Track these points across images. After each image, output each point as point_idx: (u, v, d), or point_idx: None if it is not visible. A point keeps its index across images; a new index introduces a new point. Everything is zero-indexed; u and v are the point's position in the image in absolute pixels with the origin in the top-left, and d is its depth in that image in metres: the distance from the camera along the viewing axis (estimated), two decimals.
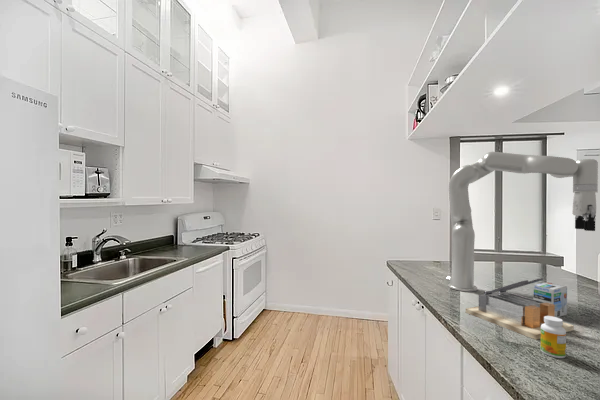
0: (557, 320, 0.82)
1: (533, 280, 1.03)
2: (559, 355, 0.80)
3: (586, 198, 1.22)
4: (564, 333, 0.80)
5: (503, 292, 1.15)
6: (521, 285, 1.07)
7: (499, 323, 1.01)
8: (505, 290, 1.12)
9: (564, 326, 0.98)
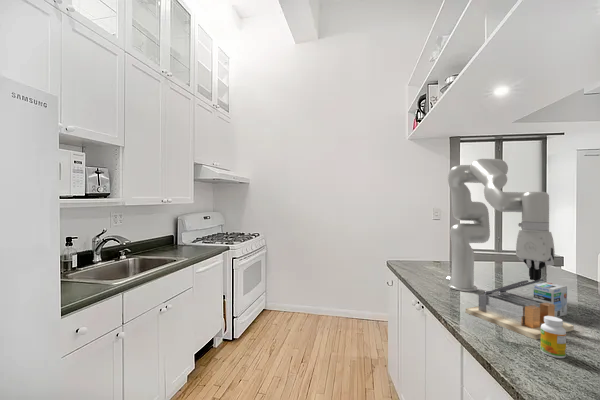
0: (557, 320, 0.82)
1: (533, 281, 1.03)
2: (559, 355, 0.80)
3: (548, 240, 1.00)
4: (564, 333, 0.80)
5: (503, 292, 1.15)
6: (521, 285, 1.07)
7: (499, 323, 1.01)
8: (505, 290, 1.12)
9: (564, 326, 0.98)
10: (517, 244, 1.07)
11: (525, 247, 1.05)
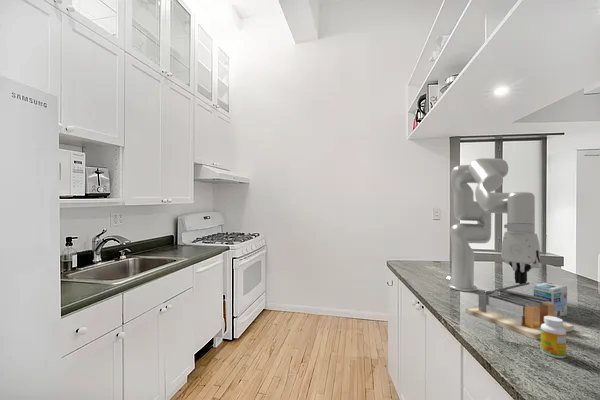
0: (557, 320, 0.82)
1: (539, 299, 1.02)
2: (559, 355, 0.80)
3: (534, 242, 0.96)
4: (564, 333, 0.80)
5: None
6: None
7: (499, 323, 1.01)
8: (505, 292, 1.12)
9: (564, 326, 0.98)
10: (502, 246, 1.04)
11: (510, 249, 1.01)
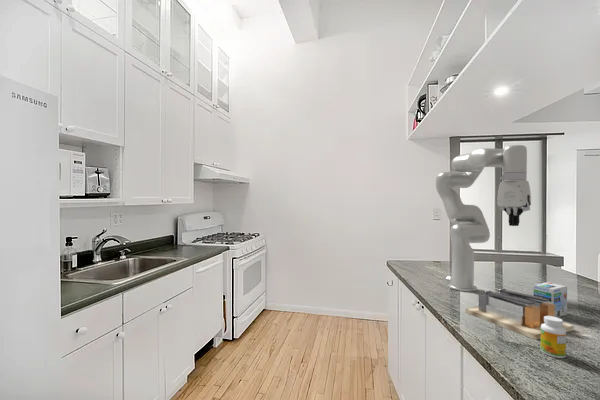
0: (557, 320, 0.82)
1: (539, 299, 1.02)
2: (559, 355, 0.80)
3: (525, 188, 1.10)
4: (564, 333, 0.80)
5: None
6: None
7: (499, 323, 1.01)
8: (505, 292, 1.12)
9: (564, 326, 0.98)
10: (498, 194, 1.18)
11: (505, 196, 1.15)
